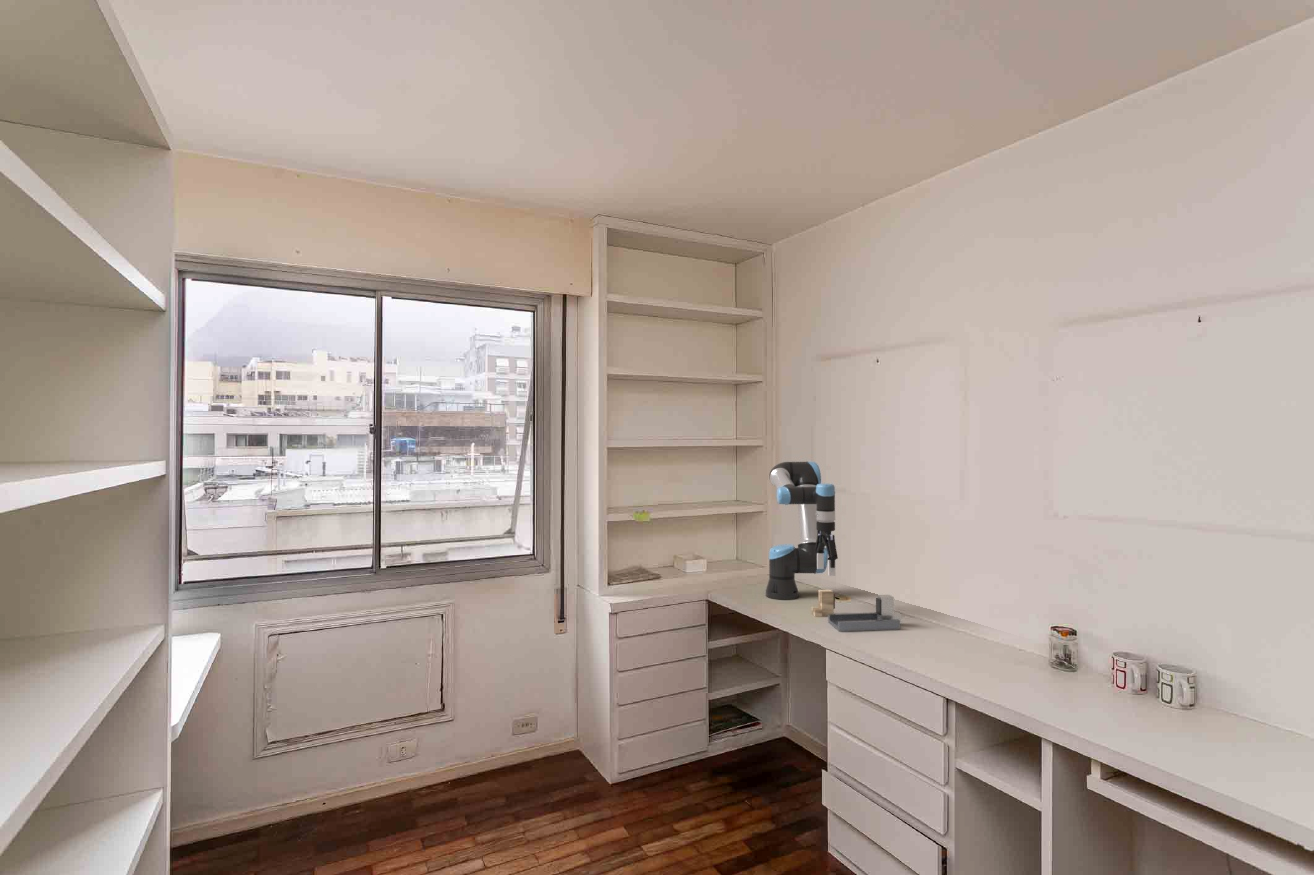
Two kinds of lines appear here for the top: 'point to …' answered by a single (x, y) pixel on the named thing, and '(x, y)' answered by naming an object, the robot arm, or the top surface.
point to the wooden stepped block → (824, 604)
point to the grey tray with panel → (869, 618)
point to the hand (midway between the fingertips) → (826, 572)
